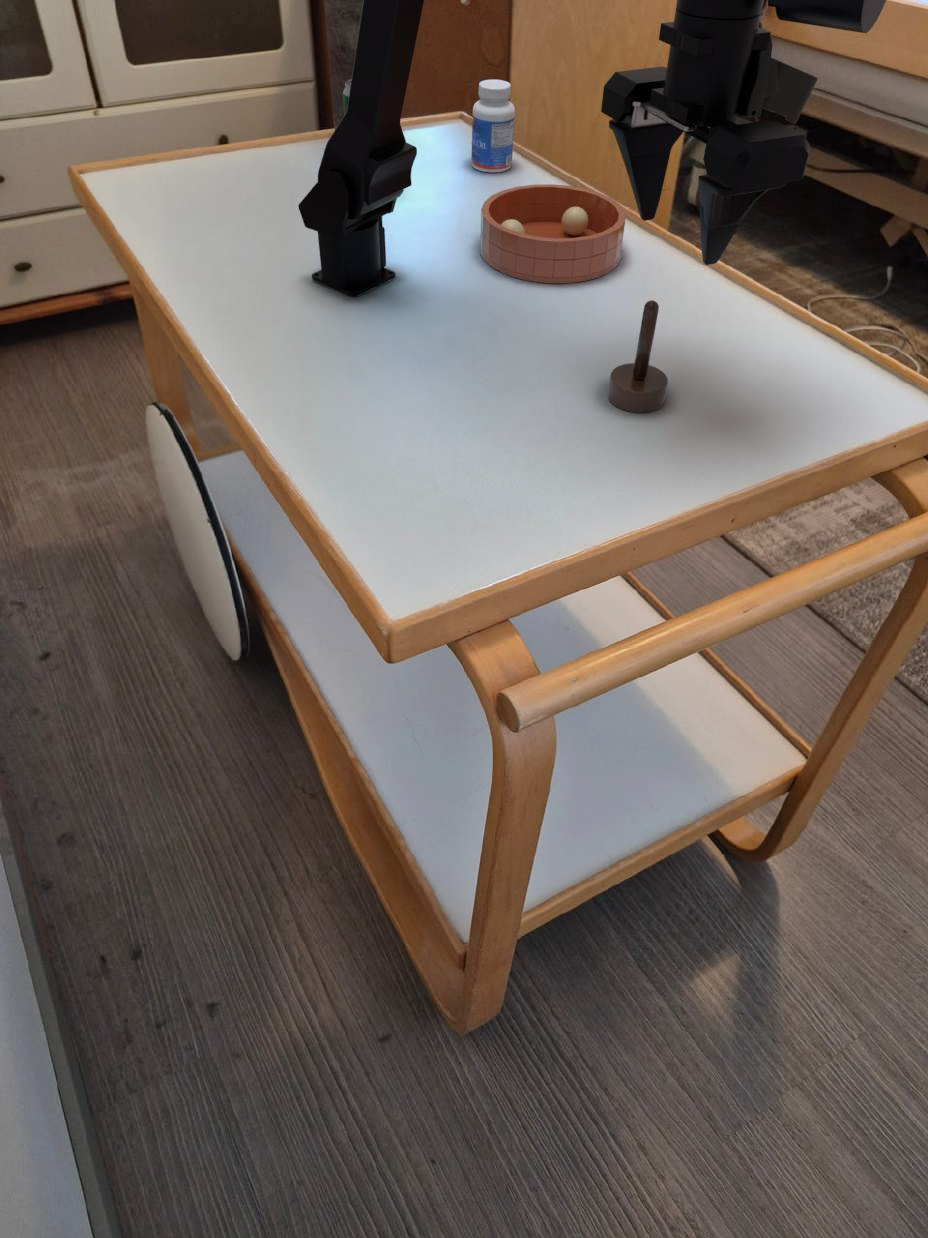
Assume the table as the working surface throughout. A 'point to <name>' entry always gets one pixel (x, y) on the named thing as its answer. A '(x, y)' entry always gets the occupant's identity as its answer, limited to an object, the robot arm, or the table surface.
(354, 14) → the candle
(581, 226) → the dumpling
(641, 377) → the brown peg stand
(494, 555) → the table surface
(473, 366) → the table surface
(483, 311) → the table surface
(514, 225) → the dumpling
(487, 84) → the pill bottle
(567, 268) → the bowl
